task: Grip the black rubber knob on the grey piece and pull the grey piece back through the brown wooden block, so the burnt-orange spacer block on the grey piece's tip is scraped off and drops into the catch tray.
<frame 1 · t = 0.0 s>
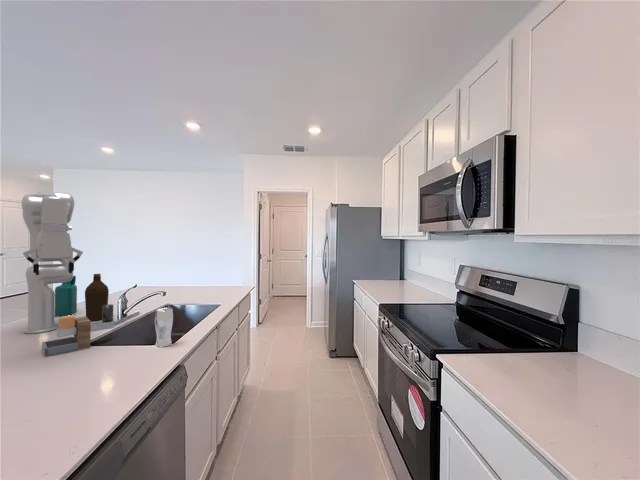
hand: (54, 273, 118), 31 cm above the table, tool pointing down, fingers open, 9 cm apart
grey piece: (86, 319, 129), point 11 cm above the table, slide at 0.0 cm, touching spacer block
catch tray: (60, 349, 123), on the table
spacer block: (66, 327, 125), point 8 cm above the table, touching grey piece
teal green bottle: (66, 314, 178), on the table
beer glass: (163, 345, 131), on the table
brown wooden block: (81, 345, 128), on the table
olive oil: (96, 319, 169), on the table
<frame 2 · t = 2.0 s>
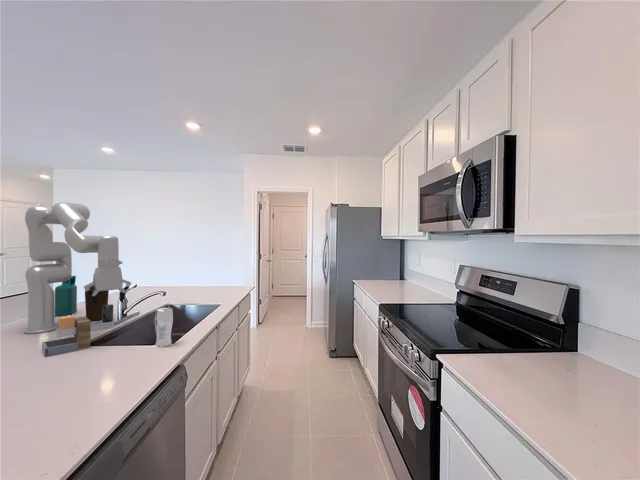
hand: (108, 303, 135), 16 cm above the table, tool pointing down, fingers open, 9 cm apart
nothing on the table moved.
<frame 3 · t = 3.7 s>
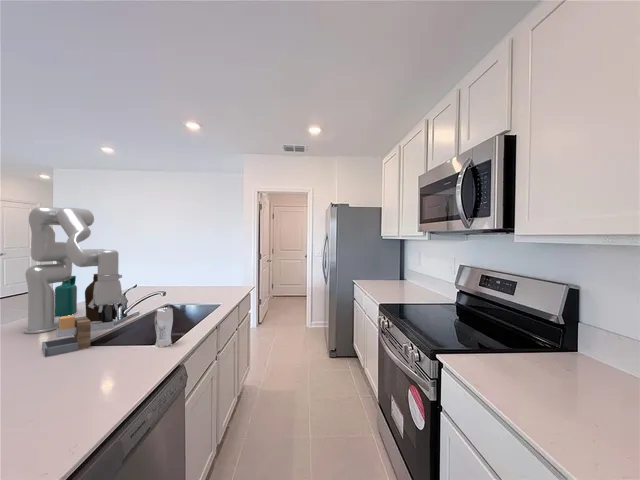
hand: (107, 319, 135), 9 cm above the table, tool pointing down, fingers closed on grey piece, 4 cm apart
grey piece: (86, 319, 129), point 11 cm above the table, slide at 0.0 cm, touching gripper, spacer block
everything else where it was.
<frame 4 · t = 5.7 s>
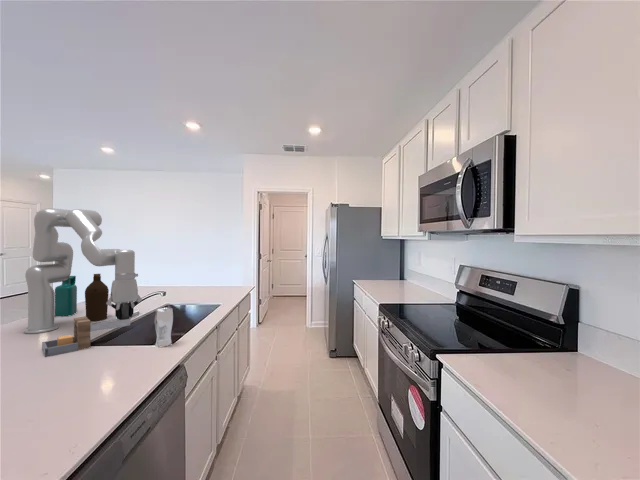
hand: (124, 316, 140), 9 cm above the table, tool pointing down, fingers closed on grey piece, 4 cm apart
grey piece: (104, 317, 134), point 11 cm above the table, slide at 6.4 cm, touching gripper
spacer block: (72, 341, 126), point 3 cm above the table, tilted 90°, touching catch tray
everything else where it was.
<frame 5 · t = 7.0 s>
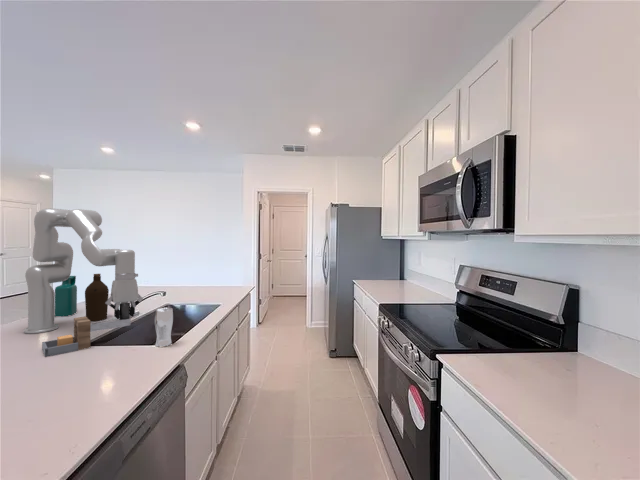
hand: (124, 316, 140), 9 cm above the table, tool pointing down, fingers open, 5 cm apart
grey piece: (104, 317, 134), point 11 cm above the table, slide at 6.5 cm
everything else where it was.
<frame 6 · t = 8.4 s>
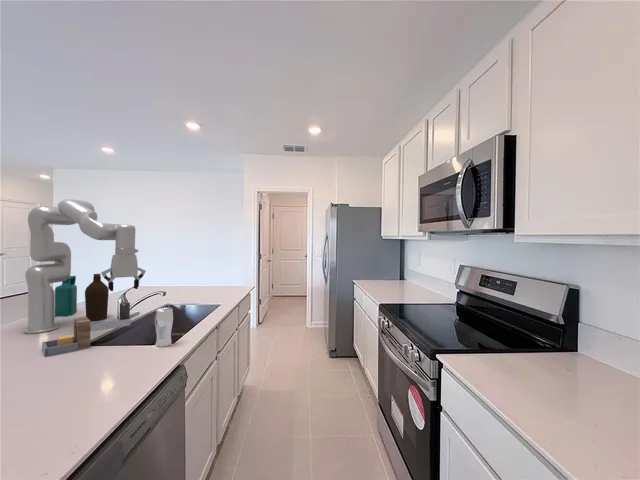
hand: (123, 289, 140), 22 cm above the table, tool pointing down, fingers open, 9 cm apart
nothing on the table moved.
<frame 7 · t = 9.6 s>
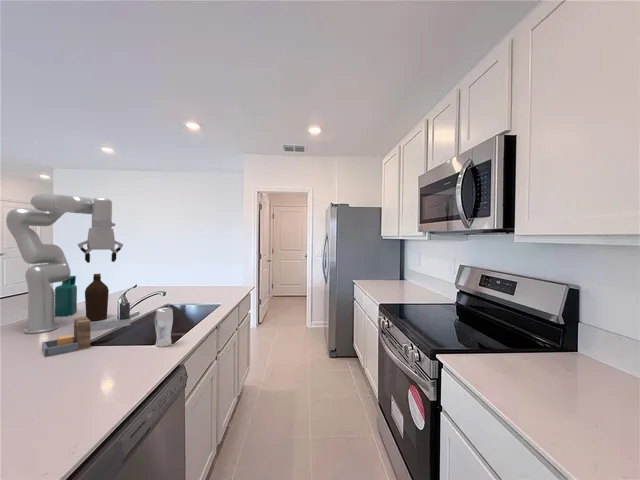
hand: (100, 262, 143), 34 cm above the table, tool pointing down, fingers open, 9 cm apart
nothing on the table moved.
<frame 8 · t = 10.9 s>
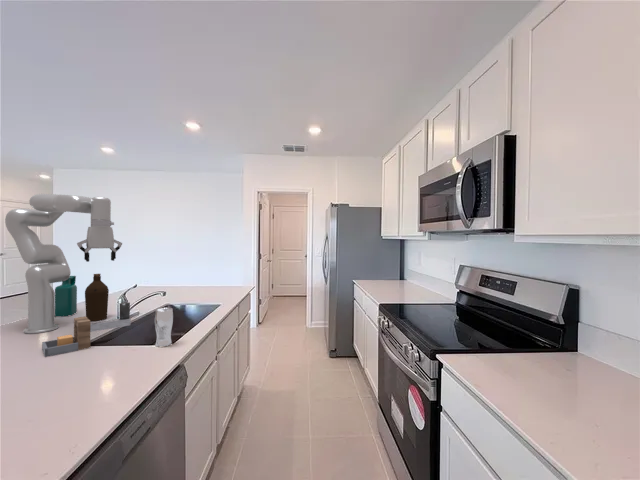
hand: (100, 260, 143), 34 cm above the table, tool pointing down, fingers open, 9 cm apart
nothing on the table moved.
at the end: grey piece slide at 6.5 cm; spacer block point 2.7 cm above the table; spacer block inside the target area on the catch tray (3.3 cm from its centre), point 2.7 cm above the catch tray's base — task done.
